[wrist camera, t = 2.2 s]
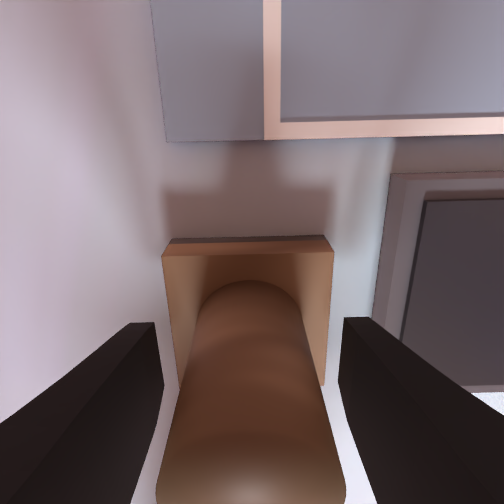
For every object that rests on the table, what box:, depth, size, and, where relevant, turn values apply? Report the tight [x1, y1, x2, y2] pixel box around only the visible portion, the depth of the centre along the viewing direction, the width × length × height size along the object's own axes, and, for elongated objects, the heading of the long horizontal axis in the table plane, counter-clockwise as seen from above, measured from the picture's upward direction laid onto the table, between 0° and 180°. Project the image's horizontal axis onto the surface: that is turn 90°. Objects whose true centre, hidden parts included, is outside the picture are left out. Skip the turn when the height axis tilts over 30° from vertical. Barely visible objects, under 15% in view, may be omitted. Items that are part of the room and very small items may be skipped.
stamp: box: [156, 235, 346, 504], centre depth 8 cm, size 4×4×6 cm
